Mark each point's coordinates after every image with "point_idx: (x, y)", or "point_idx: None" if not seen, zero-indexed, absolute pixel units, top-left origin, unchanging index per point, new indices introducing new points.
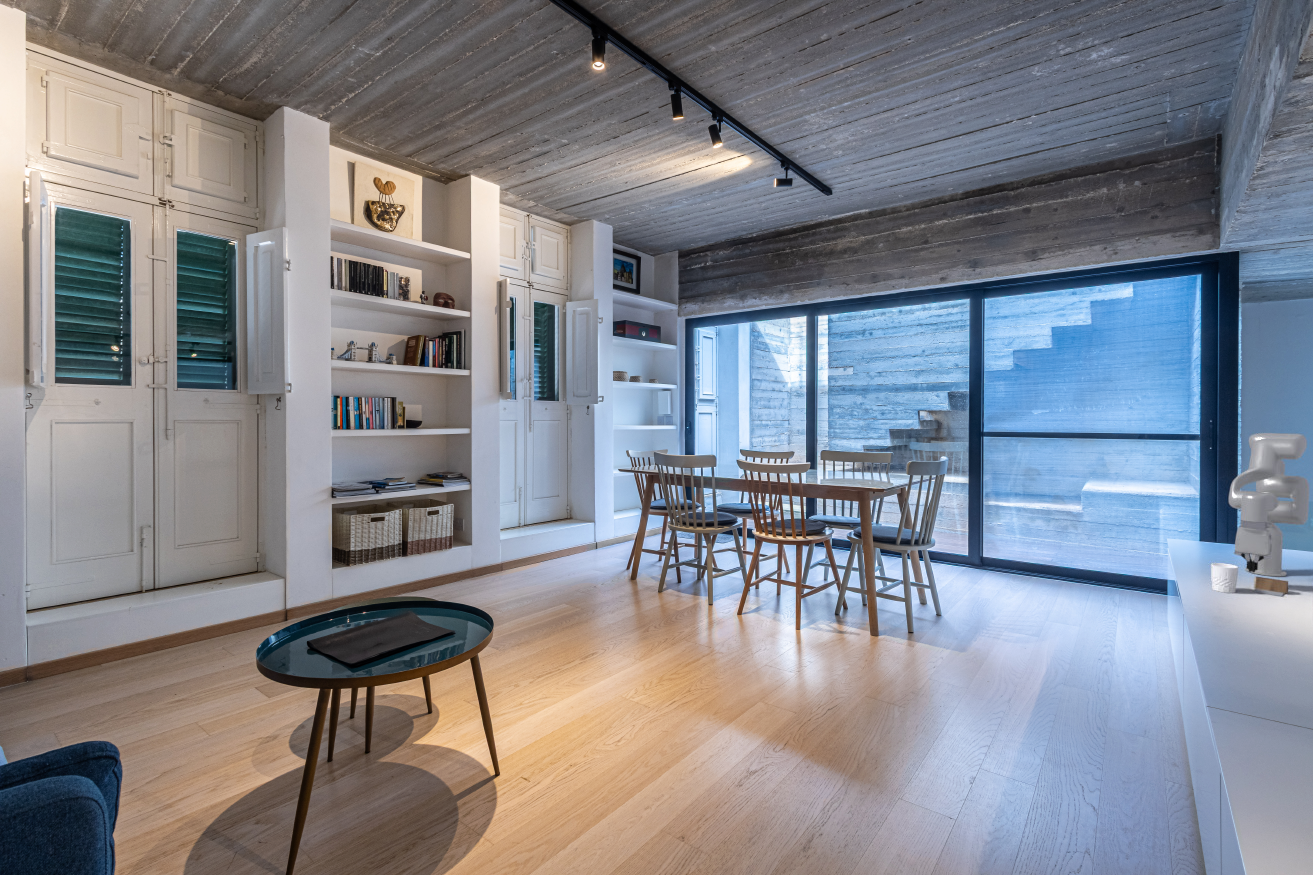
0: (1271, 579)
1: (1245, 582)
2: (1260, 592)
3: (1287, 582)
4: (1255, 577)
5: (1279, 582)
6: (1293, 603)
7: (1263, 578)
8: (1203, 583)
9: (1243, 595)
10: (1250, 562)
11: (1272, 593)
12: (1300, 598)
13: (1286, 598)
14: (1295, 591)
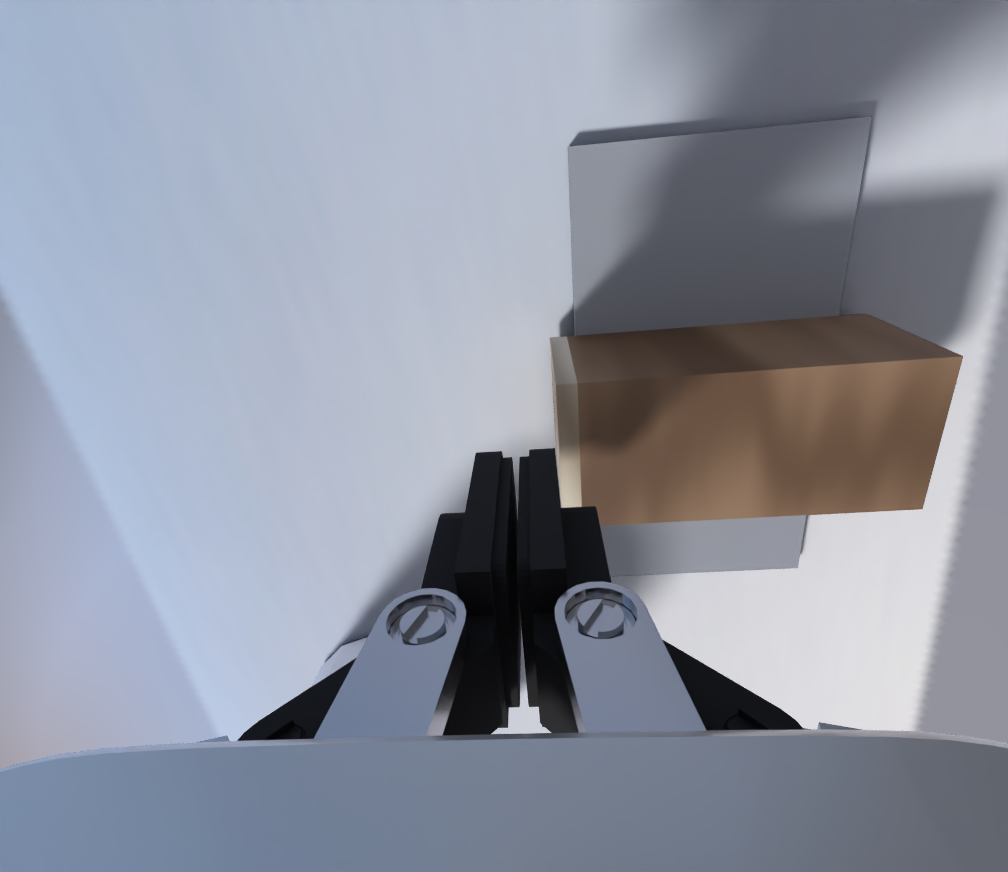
0: (749, 431)
1: (392, 107)
2: (630, 573)
3: (934, 451)
4: (565, 467)
5: (835, 506)
6: (860, 712)
7: (655, 449)
8: (184, 567)
9: (543, 729)
10: (504, 711)
11: (722, 547)
12: (942, 505)
13: (824, 597)
14: (952, 154)
